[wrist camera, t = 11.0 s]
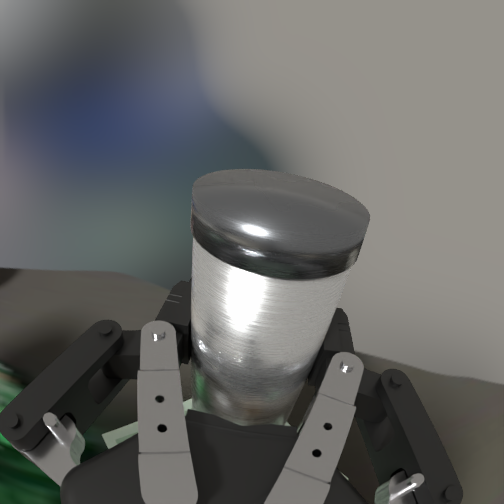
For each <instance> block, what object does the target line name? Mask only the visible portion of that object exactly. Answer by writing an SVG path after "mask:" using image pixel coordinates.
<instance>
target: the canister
mask: <svg viewBox="0 0 504 504" xmlns="http://www.w3.org/2000/svg"><path fill="white" fill-rule="evenodd" d="M369 221H370V214H369V212H368V210H367V209H366V208H365V206H364V205H363V204H361V203H360V202H359V201H357V200H356V199H355V198H354V197H352V196H350V195H349V194H347V193H345V192H343V191H341V190H339V189H337V188H335V187H332V186H330V185H327V184H325V183H322V182H319V181H316V180H312V179H309V178H306V177H302V176H298V175H292V174H288V173H283V172H276V171H268V170H257V169H256V170H255V169H232V170H223V171H217V172H212V173H209V174H206V175H204V176H202V177H200V178H199V179H197V180H196V181H195V182H194V185H193V191H192V207H191V232H192V235H193V256H192V288H191V383H192V410H195V411H200V412H204V413H209V414H214V415H217V416H219V417H221V418H224V419H226V420H228V421H231V422H233V423H236V424H238V425H241V426H249V425H263V424H276V425H285V424H286V422H287V420H288V418H289V416H290V414H291V412H292V410H293V408H294V405H295V403H296V401H297V399H298V397H299V395H300V393H301V391H302V389H303V386H304V384H305V382H306V380H307V378H308V375H309V373H310V371H311V369H312V366H313V364H314V362H315V359H316V357H317V355H318V352H319V350H320V348H321V345H322V343H323V340H324V338H325V336H326V333H327V331H328V328H329V326H330V323H331V321H332V318H333V315H334V313H335V310H336V308H337V305H338V302H339V299H340V297H341V294H342V291H343V288H344V286H345V283H346V280H347V277H348V274H349V272H350V269H351V267H352V266H353V265H354V263H355V262H356V261H357V258H358V255H359V252H360V249H361V246H362V243H363V240H364V237H365V234H366V231H367V227H368V224H369Z"/></svg>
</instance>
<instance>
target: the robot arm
mask: <svg viewBox="0 0 504 504" xmlns="http://www.w3.org/2000/svg"><path fill="white" fill-rule="evenodd" d="M191 288H192V277H191V279H190V281H189V282H186V281H180V282H179V283H178V284H176V285H175V286H174V287H173V288H172V290H171V292H170V295H169V296H168V297H167V300H166V301H165V303H164V305H163V306H162V308H161V310H160V312H159V314H158V316H157V318H156V319H155V321H152V322H149V323H147V324H146V325H145V326H144V327H143V328H142V330H136V331H125V330H122V328H121V326H120V325H119V324H118V323H117V322H115V321H112V320H102V321H99V322H97V323H95V324H94V325H93V326H91V327H90V328H89V329H88V330H87V331H86V332H85V333H84V334H82V335H81V336H80V337H79V338H78V339H77V340H76V341H75V342H74V343H72V344H71V345H70V346H69V347H68V348H67V349H66V350H65V351H64V352H63V353H62V354H60V355H59V356H58V357H57V358H56V359H55V360H54V361H53V362H52V363H51V364H50V365H49V366H48V367H47V368H45V369H44V370H43V371H42V372H41V373H40V374H39V375H38V376H37V377H36V378H35V379H34V380H33V381H32V382H31V383H30V384H29V385H28V386H27V387H26V388H25V389H24V390H23V391H22V392H21V393H20V394H19V395H18V396H17V397H16V398H14V399H13V400H12V401H11V402H10V403H9V404H8V406H7V407H6V408H5V409H4V410H3V411H2V412H1V413H0V432H1V434H2V435H3V436H4V437H5V438H6V439H7V440H8V441H9V442H10V443H11V444H12V446H13V447H14V448H15V449H16V450H17V451H19V452H20V453H21V454H22V455H23V456H24V457H25V458H27V459H28V460H29V461H31V462H33V463H34V464H35V465H36V466H37V467H39V468H40V469H41V470H43V471H44V472H45V473H46V474H47V475H48V476H49V477H50V478H51V479H53V480H54V481H55V482H56V483H57V484H58V485H59V486H61V488H60V498H61V503H62V504H368V503H367V502H366V500H365V499H364V498H363V497H362V496H361V495H360V494H359V493H358V491H357V490H356V489H355V488H354V487H353V486H352V485H351V483H350V482H349V481H348V480H347V479H346V478H345V477H344V475H343V474H342V473H341V472H340V471H339V469H338V468H337V467H336V466H337V463H338V461H339V458H340V455H341V453H342V450H343V447H344V444H345V441H346V438H347V435H348V433H349V430H350V426H351V423H352V420H353V417H356V420H357V423H358V426H359V428H360V431H361V434H362V437H363V439H364V442H365V445H366V447H367V450H368V453H369V456H370V458H371V461H372V464H373V467H374V470H375V473H376V475H377V478H378V481H379V484H380V486H379V487H378V488H377V490H376V492H375V501H374V502H375V504H460V503H461V501H462V498H463V490H462V487H461V485H460V482H459V480H458V478H457V475H456V473H455V471H454V468H453V466H452V464H451V462H450V460H449V457H448V455H447V453H446V451H445V449H444V447H443V445H442V442H441V440H440V438H439V436H438V434H437V432H436V430H435V428H434V426H433V424H432V422H431V420H430V418H429V416H428V414H427V412H426V410H425V408H424V406H423V404H422V402H421V401H420V399H419V397H418V395H417V393H416V391H415V389H414V387H413V386H412V384H411V382H410V380H409V378H408V377H407V376H406V375H405V374H404V373H403V372H402V371H400V370H397V369H388V370H385V371H384V372H383V373H382V375H381V374H378V373H375V372H372V371H369V370H367V369H365V368H364V366H363V363H362V361H361V360H360V359H359V358H358V357H357V356H355V353H354V348H353V342H352V337H351V332H350V327H349V322H348V317H347V315H346V314H345V312H344V311H343V310H342V309H341V308H336V310H335V313H334V315H333V318H332V321H331V323H330V326H329V328H328V331H327V333H326V336H325V338H324V340H323V343H322V345H321V348H320V350H319V352H318V355H317V357H316V359H315V362H314V364H313V366H312V369H311V371H310V373H309V375H308V385H311V386H315V388H316V392H315V394H314V395H313V397H312V400H311V402H310V404H309V406H308V408H307V411H306V413H305V415H304V417H303V419H302V421H301V423H300V425H299V427H298V429H297V427H295V426H285V425H276V424H263V425H249V426H241V425H238V424H236V423H233V422H231V421H228V420H226V419H224V418H221V417H219V416H217V415H214V414H209V413H204V412H200V411H195V410H191V409H188V410H187V413H186V416H185V414H184V406H183V398H182V390H181V381H180V372H179V368H180V365H181V363H184V364H188V363H189V360H190V358H191ZM130 379H137V407H138V433H137V434H135V435H133V436H131V437H130V438H128V439H126V440H124V441H123V442H121V443H119V444H117V445H115V446H114V447H112V448H110V449H108V450H106V451H104V452H102V453H101V454H99V455H97V456H95V457H93V458H91V459H89V460H87V461H85V462H83V463H81V464H80V456H81V454H82V452H83V450H84V448H85V439H84V437H83V434H84V433H85V431H86V430H87V429H88V428H89V427H90V426H91V424H92V423H93V422H94V421H95V420H96V418H97V417H98V416H99V415H100V414H101V413H102V411H103V410H104V409H105V408H106V407H107V405H108V404H109V403H110V402H111V401H112V400H113V398H114V397H115V396H116V395H117V394H118V393H119V391H120V390H121V389H122V388H123V387H124V386H125V384H126V383H127V382H128V381H129V380H130Z"/></svg>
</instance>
